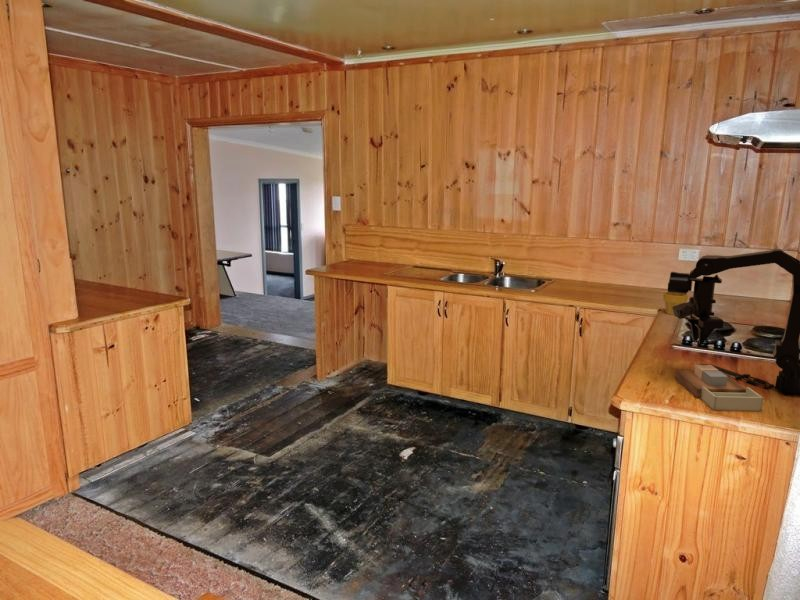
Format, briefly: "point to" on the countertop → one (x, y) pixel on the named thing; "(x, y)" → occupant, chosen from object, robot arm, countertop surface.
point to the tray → (733, 400)
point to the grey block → (714, 378)
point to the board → (695, 384)
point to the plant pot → (673, 300)
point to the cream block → (703, 369)
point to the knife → (740, 377)
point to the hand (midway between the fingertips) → (698, 342)
